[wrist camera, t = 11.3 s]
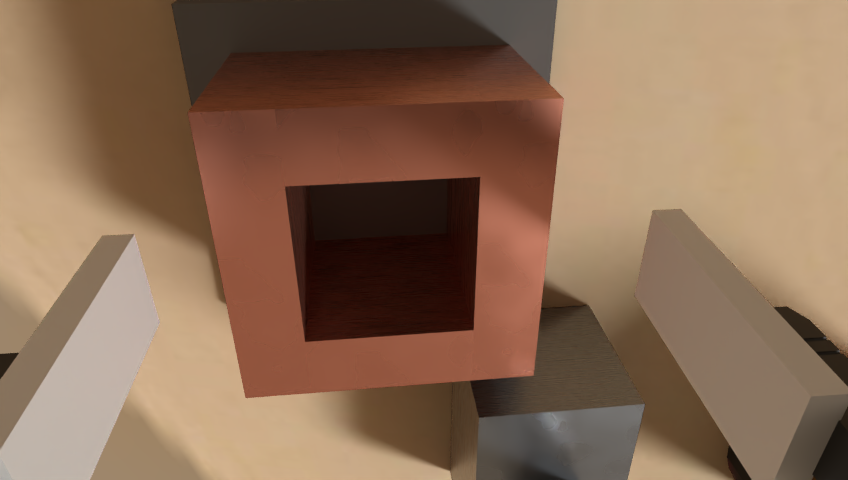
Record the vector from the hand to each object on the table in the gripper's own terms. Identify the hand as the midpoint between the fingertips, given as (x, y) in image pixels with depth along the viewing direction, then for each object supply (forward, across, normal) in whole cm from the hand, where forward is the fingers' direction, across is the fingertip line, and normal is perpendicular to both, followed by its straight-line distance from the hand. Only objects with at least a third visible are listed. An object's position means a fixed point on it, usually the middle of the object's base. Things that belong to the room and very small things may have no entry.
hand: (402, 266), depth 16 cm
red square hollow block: (+7, 0, -1) cm, 7 cm away
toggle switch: (+7, +6, -13) cm, 16 cm away
